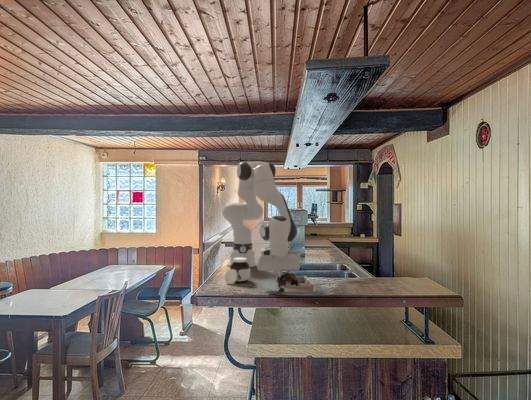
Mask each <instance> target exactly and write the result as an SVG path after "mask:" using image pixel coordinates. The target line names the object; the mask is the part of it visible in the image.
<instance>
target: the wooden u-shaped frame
mask: <svg viewBox="0 0 531 400" xmlns="http://www.w3.org/2000/svg"><path fill="white" fill-rule="evenodd" d="M278 275H279V274H277V276H278ZM295 277H296V279H297V281H298V283H299V282H300V283H304V284H305V285H299V286H295V285H287V284H286V285H287V286H286V285H283V286H282V287H283V288H284V290H283V291H284V293H316V291H317V286H316V285H315V284H314V282H312V281H311V280H310V279H309V278H308V277H307V275H303V276H302V275H301V276H297V275H295ZM284 279H285V278H284Z"/></svg>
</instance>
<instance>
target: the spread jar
mask: <svg viewBox="0 0 531 400" xmlns="http://www.w3.org/2000/svg"><path fill="white" fill-rule="evenodd" d="M233 261H234V262H233V263H232V265H231V266H229V267H230V268H229V270H228V269H227V271H226V272H225V274H224V281H225V283H226V284H228V285H234V284H246V283H247V282H248V281H249V280H250V278H251V267H250V266H249V264H248V263H247V258H243V257H238V258H234V259H233Z"/></svg>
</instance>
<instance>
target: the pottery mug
mask: <svg viewBox="0 0 531 400" xmlns="http://www.w3.org/2000/svg"><path fill="white" fill-rule="evenodd" d="M295 276H296V275H295V274H294V273H290V272H287V273H286V272H285V273H284V274H282V275H281V276H280V278H279V279H278V280H276V282H277V287H278V288H279V289H280V288H281V287H283V285H286V286H288V284H287V283H289V286H300V284H299V282H298V281H297V279H296V277H295ZM284 278H285V279H284Z"/></svg>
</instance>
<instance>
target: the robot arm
mask: <svg viewBox="0 0 531 400" xmlns="http://www.w3.org/2000/svg"><path fill="white" fill-rule="evenodd" d="M276 171H277V170H276V166H275V164H273V163H272V162H270V161H269V162H268V161H267V162H265V161H258V160H257V161H240V162H239V163H238V165H237V167H236V175H237V178H238V179H239V182H238V186H237V188H238V189H237V196H238V198H239V199H240V200H242V201H244V202H231V203H227V204H225V205H224V206H223V208H222V216H223V218H224V219H225V220H226V221H228V223H229V224H230V226H231V227H232V231H233V243H232V251H231V252H230V254H229V258H230V259H229V262H228V263H227V265H226V266H227V267H231V265H232V263H233V262H234V261H233V259H234V258H238V257H243V258H247V263H248V264H249V266H250V268H252V267H256V269H257V270H258V271H260V272H262V271H263V272H264V271H265V272H266V271H267V272H268V271H270V272H271V271H273V273H274V275H275V280H276V281H277V280H278V279H279V278H280V277H281V276H283V271H284V272H285V271H287V272H291V271H292V272H295V271H296V272H298V271H299V270H300V268H301V267H300V266H301V265H300V259H301V253H300V252H299V251H297V250H289V242H292V241H294V240H295V239H296V237H297V235H298V229H297V225H296V223H295V222H294V220H293V217H292V215H291V212H290V209H289V206H288V202H287V200H286V198H285V197H284V194H282V193H281V192H280V191H279V189H278V188H277V186H276V183H275V177H276V173H277V172H276ZM257 198H258V199H259V200H261V201H262V202H264V203H267V204H270V205H271V206H274V207H275V208H277V210H278V212H279V213H278V214H279V215H275V216H274V215H273V216H272V217H271V219H270V220H269V221H265V222H264V223H262V225H261V226H260V230H259V231H260V237H261V238H262V240H264V241H266V242H269V246H266V247H262V248H261V249H259V255H258V257H257V262H256V261H255V259H256V258H255V257H256V255H255V252H254V251H253V242H252V239H253V237H252V235H253V232H252V230H251V228H249V227H248V226H246V225H244V221H245V222H249V221H256V220H261V218H262V217H263V214H264V208H263V207H262V205H261V204H260V203H259V202H258V200H257ZM278 272H279V273H278ZM277 273H278V274H277ZM277 275H278V276H277Z"/></svg>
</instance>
